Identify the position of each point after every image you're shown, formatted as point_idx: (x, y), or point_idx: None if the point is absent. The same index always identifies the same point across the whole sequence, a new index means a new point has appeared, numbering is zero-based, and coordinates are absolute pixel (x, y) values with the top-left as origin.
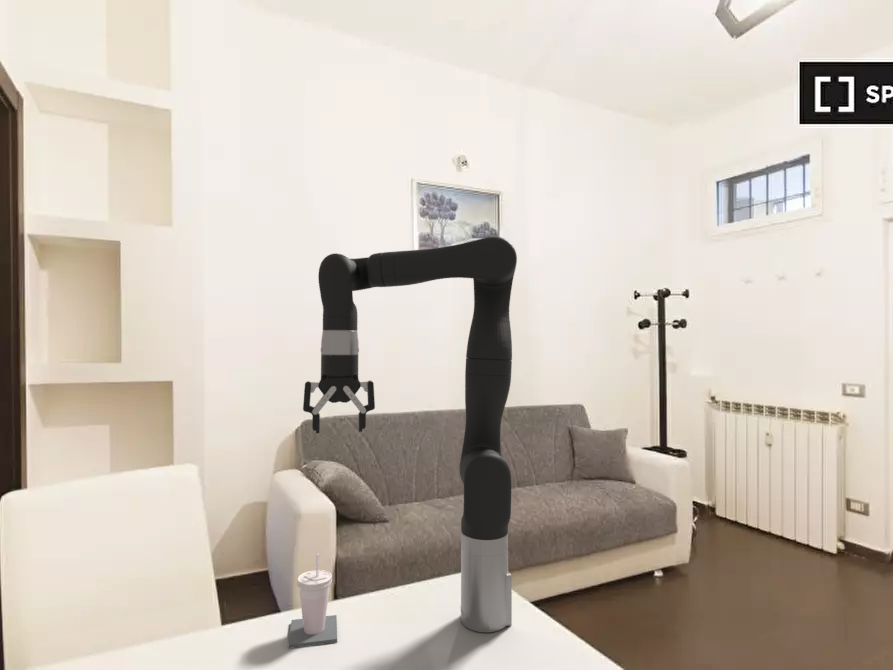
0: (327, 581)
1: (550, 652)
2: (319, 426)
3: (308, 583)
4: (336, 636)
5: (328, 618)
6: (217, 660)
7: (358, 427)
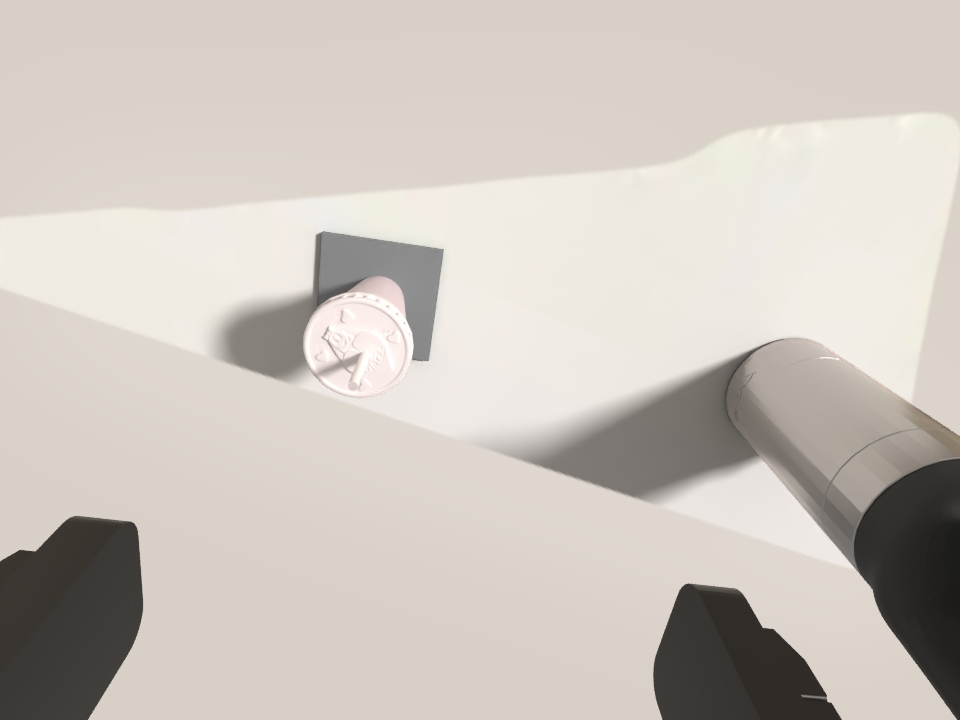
0: (394, 385)
1: (821, 529)
2: (90, 713)
3: (336, 382)
4: (428, 351)
5: (419, 261)
6: (161, 334)
7: (698, 618)
